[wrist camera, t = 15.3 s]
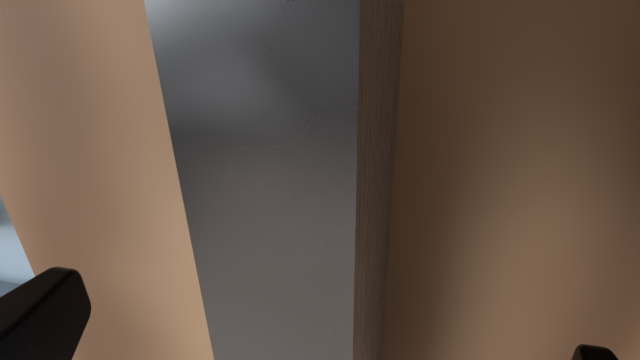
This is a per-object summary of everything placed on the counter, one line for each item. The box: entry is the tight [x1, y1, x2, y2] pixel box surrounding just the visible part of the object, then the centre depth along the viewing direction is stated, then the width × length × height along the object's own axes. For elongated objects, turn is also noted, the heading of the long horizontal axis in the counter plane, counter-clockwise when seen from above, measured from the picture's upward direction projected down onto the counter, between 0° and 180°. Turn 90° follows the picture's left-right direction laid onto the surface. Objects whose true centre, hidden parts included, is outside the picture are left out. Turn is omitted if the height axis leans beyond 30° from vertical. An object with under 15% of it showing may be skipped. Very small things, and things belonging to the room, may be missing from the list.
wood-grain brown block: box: [0, 0, 640, 360], centre depth 14 cm, size 17×20×4 cm
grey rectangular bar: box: [144, 0, 405, 360], centre depth 10 cm, size 2×14×5 cm, turn 1°
